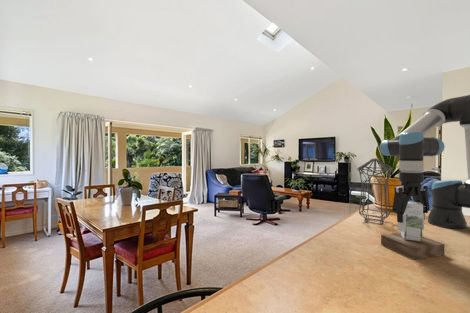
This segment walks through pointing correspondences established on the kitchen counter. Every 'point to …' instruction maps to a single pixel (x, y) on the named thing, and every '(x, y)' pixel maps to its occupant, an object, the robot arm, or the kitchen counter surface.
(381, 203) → the geometric lantern
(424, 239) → the walnut base
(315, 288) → the kitchen counter surface
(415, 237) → the syrup box
